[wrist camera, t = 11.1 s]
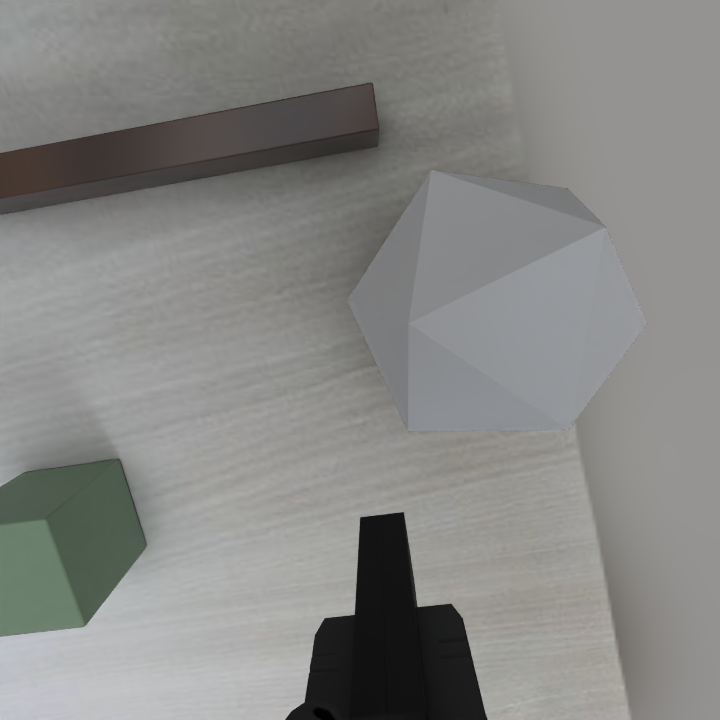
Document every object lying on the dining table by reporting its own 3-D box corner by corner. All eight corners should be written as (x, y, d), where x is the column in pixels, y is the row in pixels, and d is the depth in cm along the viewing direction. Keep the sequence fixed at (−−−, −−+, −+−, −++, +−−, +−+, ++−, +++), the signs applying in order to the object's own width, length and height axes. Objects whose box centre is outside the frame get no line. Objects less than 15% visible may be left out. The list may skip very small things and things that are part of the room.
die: (319, 316, 20) (381, 526, 13) (363, 99, 14) (517, 292, 7) (477, 317, 23) (592, 491, 16) (572, 138, 17) (817, 302, 10)
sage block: (119, 458, 21) (44, 519, 16) (147, 546, 22) (85, 627, 17) (23, 471, 21) (-79, 535, 17) (56, 558, 23) (-31, 640, 18)
